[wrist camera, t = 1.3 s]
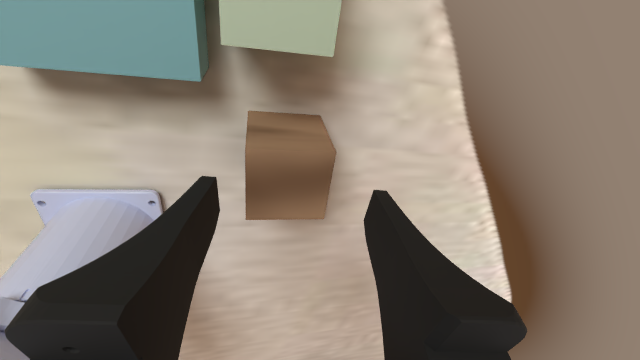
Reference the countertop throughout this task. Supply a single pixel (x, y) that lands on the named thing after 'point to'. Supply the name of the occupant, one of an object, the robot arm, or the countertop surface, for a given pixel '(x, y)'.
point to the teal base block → (107, 37)
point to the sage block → (281, 25)
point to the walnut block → (287, 166)
